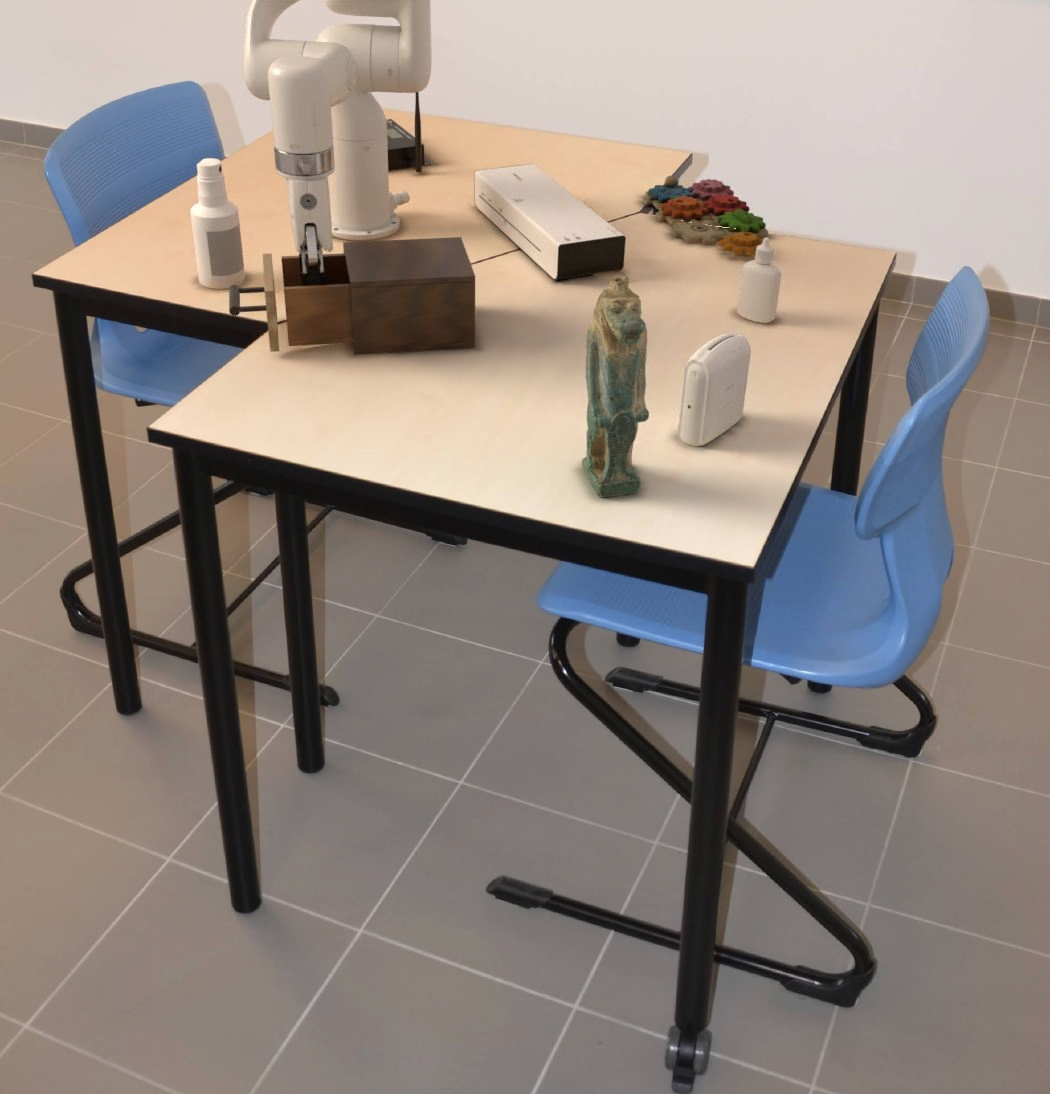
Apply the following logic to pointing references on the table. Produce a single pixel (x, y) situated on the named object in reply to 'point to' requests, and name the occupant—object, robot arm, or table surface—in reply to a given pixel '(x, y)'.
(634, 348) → the statue
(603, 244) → the laminator
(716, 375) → the photo printer
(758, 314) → the eye dropper bottle
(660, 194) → the gear puzzle
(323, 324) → the drawer
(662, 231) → the table surface
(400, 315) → the cabinet
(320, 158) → the robot arm
